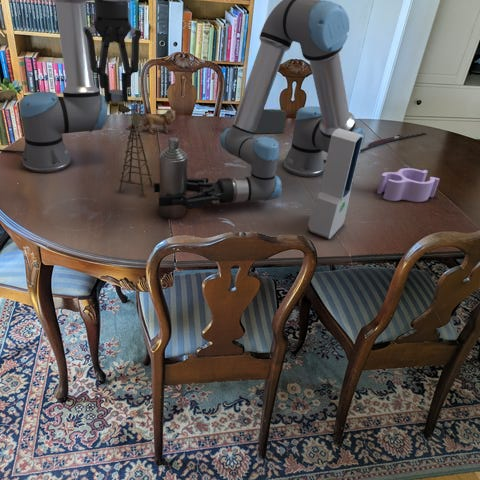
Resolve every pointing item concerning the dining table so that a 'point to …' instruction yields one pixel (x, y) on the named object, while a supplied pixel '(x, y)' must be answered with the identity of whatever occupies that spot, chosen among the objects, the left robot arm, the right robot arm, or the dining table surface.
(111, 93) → the cap
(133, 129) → the miniature windmill
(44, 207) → the dining table surface
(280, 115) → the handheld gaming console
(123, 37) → the left robot arm
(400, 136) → the sword
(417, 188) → the clip
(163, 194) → the bottle
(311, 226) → the electronic device
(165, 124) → the lion figurine
